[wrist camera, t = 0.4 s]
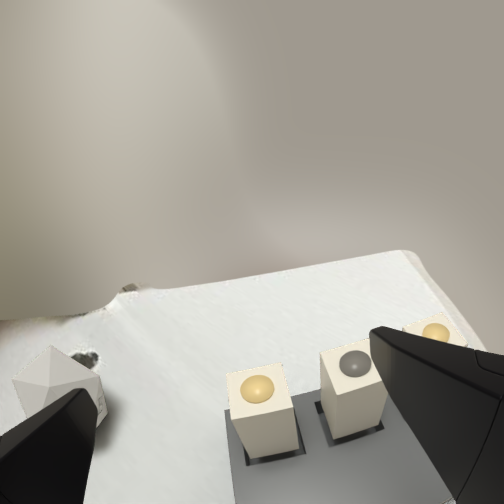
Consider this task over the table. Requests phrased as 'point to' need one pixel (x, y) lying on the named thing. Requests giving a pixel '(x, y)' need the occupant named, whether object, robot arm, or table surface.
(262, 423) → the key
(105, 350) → the table surface
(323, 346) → the table surface
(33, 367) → the die
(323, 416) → the console
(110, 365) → the table surface
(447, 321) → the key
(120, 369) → the table surface
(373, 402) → the middle key
